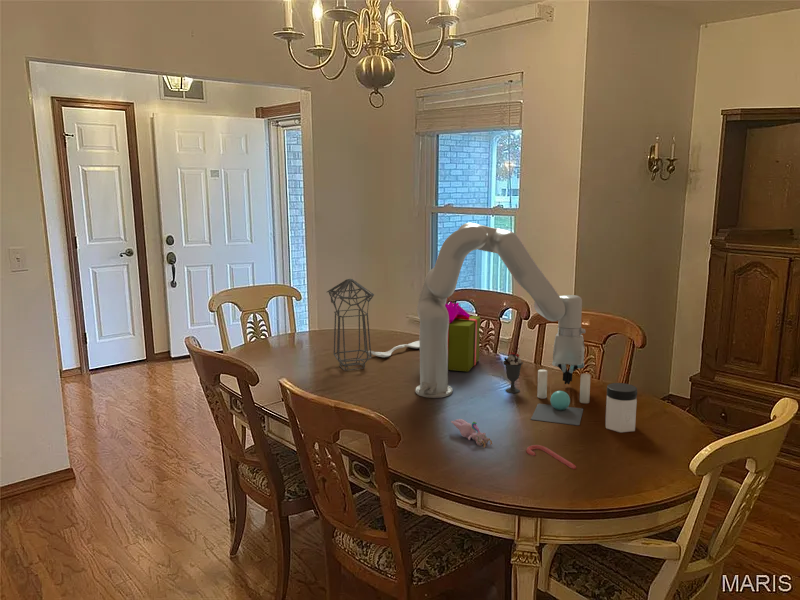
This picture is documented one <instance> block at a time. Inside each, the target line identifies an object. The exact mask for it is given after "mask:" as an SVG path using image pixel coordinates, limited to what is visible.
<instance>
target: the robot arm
mask: <svg viewBox="0 0 800 600" xmlns="http://www.w3.org/2000/svg"><path fill="white" fill-rule="evenodd" d="M476 250H479V251H484V252H489V253H495V254H498V257H500V259H501V261H502V262H503V264H504V265H505V267H506V268H507V270H508V271H509V272H510V274H511V276H512V277H513V279H514V280H515V281H516V283H517V284H518V286H520V287H521V288H523V289H524V290H525V291H526V292H527V293H528V294H529V296H530V297H531V298H532V300H533V301H534V303H533V307H534V310H535V312H536V313H537V314H538V315H540V316H541V317H543V318H544V319H545V320H547V321H550V322H558V323H557V324H558V325H557V333H556V334H555V337H554V342H553V350H552V352H553V353H552V363H551V365H552V366H553V367H558V369H560V371H561V372H562V381H564V385H570V383H571V382H572V381H573V373H574V372H575V371H576V370H579V369H584V368H585V362H584V361H585V340H584V335H583V334H586V329H585V328H582V316H583V315H582V313H583V309H582V308H583V299H582V297H581V296H579V295H576V294H575V295H574V294H565V295H564V294H563V295H559V294H558V293H557V290H556V289H555V288H554V286H553V285H552V283H550V281H549V280H548V278H547V277H546V276H545V275H544V273H543V272H542V270H541V269H540V268H539V266H538V265H537V263H536V262H535V261H534V259H533V258H532V256H531V254H530V253H529V252H528V250H527V248H526V247H525V245H524V244H523V242H522V241H521V239H520V237H519V236H518V235H517V234H516V233H515V232H513V231H511V230H507V229H502V228H497V227H491V226H488V225H482V224H479V223H474V222H466V223H463V224H461V226H459V227H458V229H457V230H455V231H453V232H452V233H451V234H450V235H449V236H448V237H446V238H445V240H444V241H443V243H442V244H441V247H440V250H439V252H438V255H437V258H436V261H435V264H434V267H433V268H431V269H429V271H428V272H427V274H426V275H425V278H424V281H423V283H422V287H421V290H420V294H419V298H418V301H417V305H416V314H417V316H418V319H419V340H418V341H419V345H420V349H419V385H417V386H416V387H415V390H414V391H415V394H417V395H418V396H420V397H422V398H427V399H429V398H430V399H441V398H446V397H448V396H451V394H453V387H452V386H450V385H449V373H448V372H449V370H448V328H449V314H448V311H447V309H446V307H445V304H446V303H447V299H448V298H450V297H451V296H452V295H453V294H454V293H455V292H456V291H455V290H456V288H457V284H458V280H459V277H460V273H461V271H462V267H463V263H464V262H465V259H466V258H467V256H468V254H470V253H472V251H476ZM567 365H569V369H567Z"/></svg>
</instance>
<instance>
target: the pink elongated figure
mask: <svg viewBox="0 0 800 600" xmlns="http://www.w3.org/2000/svg"><path fill="white" fill-rule="evenodd" d="M450 423H452V425H454V427H455V428H457V430H459V432H460V435H461V436H462V437H463V438H466V439H467V440H469V441H470V440H471V439H472V440H474V441H475V443H476V444H477V446H479V447H481V446H482V448H484V449H485V447H486V445H487V444H488V443H489V442H490V444H489V446H492V445H493V441H492V439H490V438H489V437H487V436H486V433H487V432H481V430H480V428H479V427H478V425H477V422H476V421H473V422H472V423H470V422H467V421H466V420H464V419H462V418H458V419H454V420H451V421H450Z"/></svg>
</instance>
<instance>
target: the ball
mask: <svg viewBox="0 0 800 600" xmlns="http://www.w3.org/2000/svg"><path fill="white" fill-rule="evenodd" d="M549 400H550V401H549V402H550V405H552V406H553V407H554V408H555V409H557V410H564V409H566V408H567V407H570V404H571V398H570V396H569V394H568V393H567V392H566V391H564V390H556V391H554V392H553V393H552V394H551V396H550V398H549Z"/></svg>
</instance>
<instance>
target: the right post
mask: <svg viewBox="0 0 800 600" xmlns="http://www.w3.org/2000/svg"><path fill="white" fill-rule="evenodd" d="M579 380H580V381H579V382H580V383H579V385H580V386H579V403H581V404H589V403H590V397H591V395H590V393H591V392H590V391H591V374H589V373H580V379H579Z"/></svg>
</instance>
